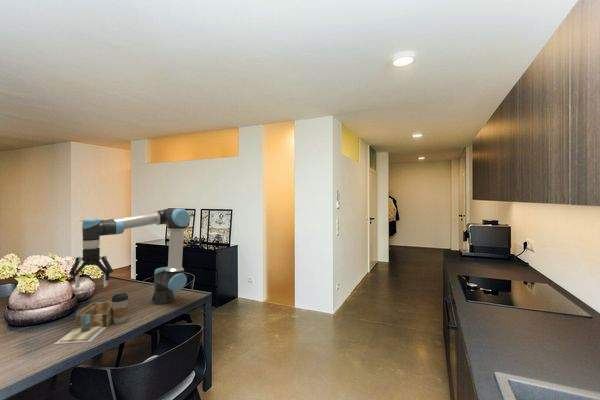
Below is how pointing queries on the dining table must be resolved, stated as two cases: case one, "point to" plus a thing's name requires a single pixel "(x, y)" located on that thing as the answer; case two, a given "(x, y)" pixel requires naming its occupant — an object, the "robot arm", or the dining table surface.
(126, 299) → the coffee cup
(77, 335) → the lid
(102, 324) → the box
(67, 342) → the mat
